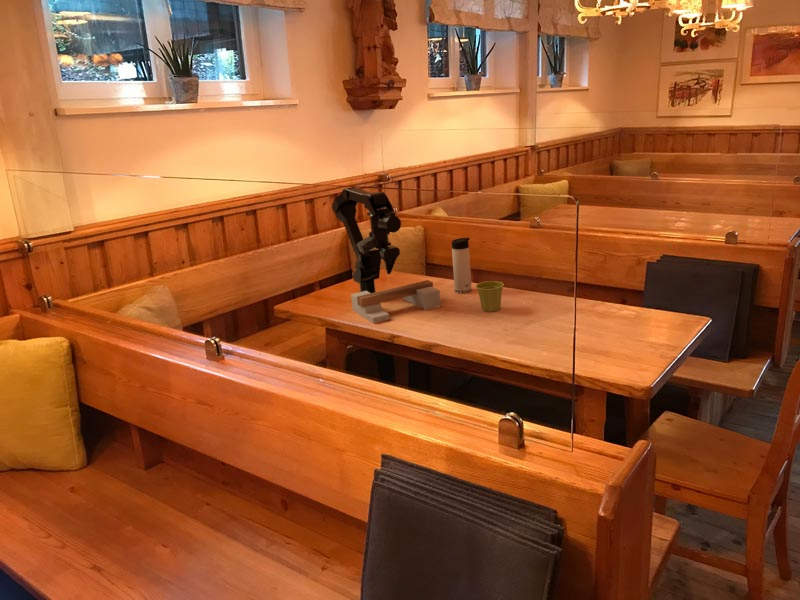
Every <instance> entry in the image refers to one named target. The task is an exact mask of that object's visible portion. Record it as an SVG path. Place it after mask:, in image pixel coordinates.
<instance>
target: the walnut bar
mask: <svg viewBox="0 0 800 600" xmlns="http://www.w3.org/2000/svg"><path fill="white" fill-rule="evenodd" d="M427 287H434V283H433V281H431V280H429V279H426V280H423V281H419V282H418V281H417V282H414V283H410V284H406V285H401V286H397V287H393V288H389V289H383V290H380V291H376V292H375V293H370V294H366V295H362V296H357V302H358V305H359V306H361V307H365V306H370V305H374V304H378V303H380V304H381V303H386V302H389V301H394V300H398V299H403V297H407V296H411V295H415V294H417V292H416V290H419V289H423V288H427Z"/></svg>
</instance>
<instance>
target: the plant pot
mask: <svg viewBox="0 0 800 600" xmlns="http://www.w3.org/2000/svg"><path fill="white" fill-rule="evenodd" d="M504 286H505V284H504V283H503V282H501V281H495V280H487V281H482V282H479V283H476V285H475V288H476V289H477V290H476V291H477V293H478V296H479V297H478V298H479V301H480V307H481V310H482V311H483V312H486V313H490V312H498V311H500V310H501V305H502V304H501V303H502V291H503V287H504Z"/></svg>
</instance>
